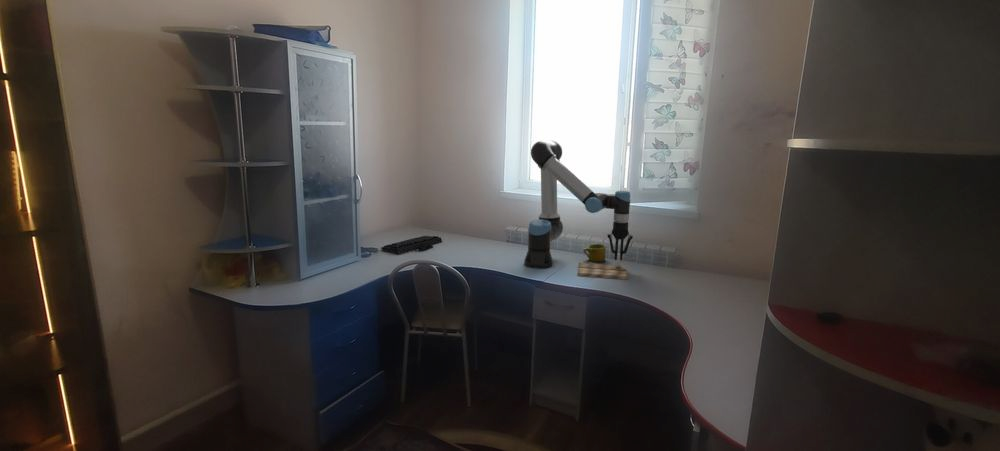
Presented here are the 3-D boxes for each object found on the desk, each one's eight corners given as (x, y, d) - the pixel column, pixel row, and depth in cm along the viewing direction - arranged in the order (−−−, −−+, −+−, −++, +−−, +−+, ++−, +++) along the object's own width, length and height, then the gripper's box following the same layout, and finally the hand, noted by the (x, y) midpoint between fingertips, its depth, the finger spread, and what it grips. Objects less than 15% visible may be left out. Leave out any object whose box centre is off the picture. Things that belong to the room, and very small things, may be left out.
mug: (606, 254, 270) (604, 239, 265) (608, 264, 261) (605, 249, 256) (584, 256, 272) (582, 242, 267) (585, 267, 263) (583, 252, 258)
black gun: (423, 239, 305) (423, 232, 304) (449, 244, 293) (449, 237, 292) (379, 251, 276) (379, 243, 275) (406, 257, 264) (406, 249, 263)
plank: (578, 269, 246) (578, 266, 246) (578, 265, 253) (578, 262, 253) (625, 273, 242) (626, 270, 242) (625, 268, 249) (625, 265, 249)
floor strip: (577, 275, 237) (577, 272, 237) (578, 270, 246) (578, 267, 245) (627, 279, 233) (627, 276, 232) (626, 273, 242) (626, 270, 241)
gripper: (608, 222, 240) (605, 267, 245) (634, 223, 238) (631, 268, 243) (607, 219, 247) (604, 263, 252) (633, 220, 245) (630, 264, 250)
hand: (617, 265), depth 247 cm, fingers closed
